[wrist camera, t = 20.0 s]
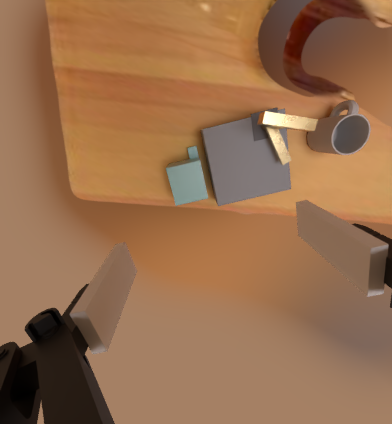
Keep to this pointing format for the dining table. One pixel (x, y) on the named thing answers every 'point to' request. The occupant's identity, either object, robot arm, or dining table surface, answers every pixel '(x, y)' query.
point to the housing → (244, 160)
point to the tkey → (280, 121)
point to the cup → (340, 131)
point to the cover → (187, 179)
